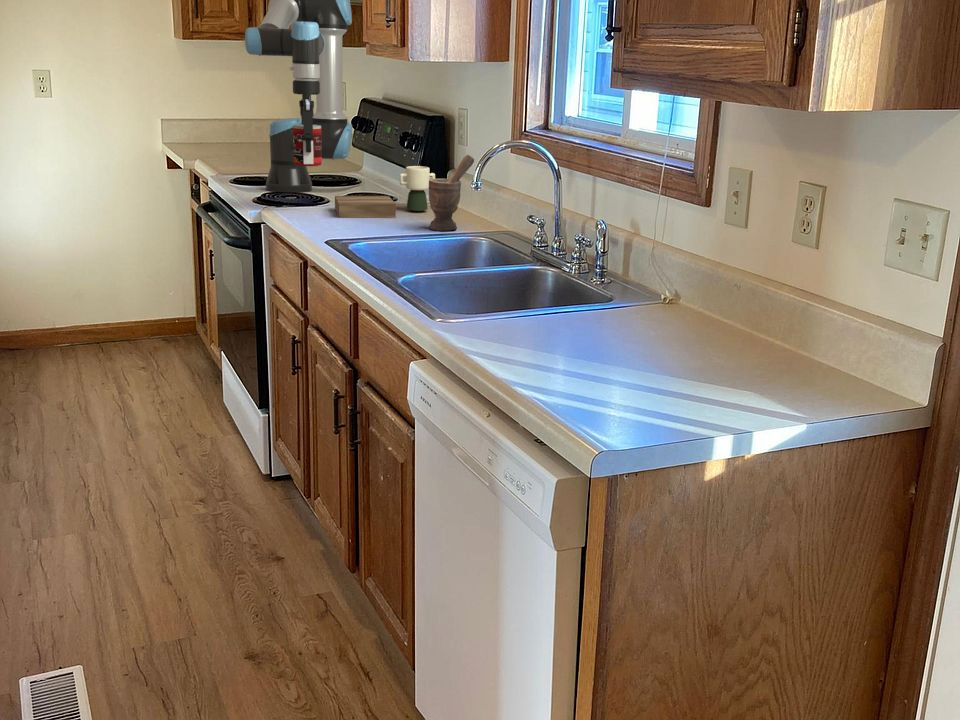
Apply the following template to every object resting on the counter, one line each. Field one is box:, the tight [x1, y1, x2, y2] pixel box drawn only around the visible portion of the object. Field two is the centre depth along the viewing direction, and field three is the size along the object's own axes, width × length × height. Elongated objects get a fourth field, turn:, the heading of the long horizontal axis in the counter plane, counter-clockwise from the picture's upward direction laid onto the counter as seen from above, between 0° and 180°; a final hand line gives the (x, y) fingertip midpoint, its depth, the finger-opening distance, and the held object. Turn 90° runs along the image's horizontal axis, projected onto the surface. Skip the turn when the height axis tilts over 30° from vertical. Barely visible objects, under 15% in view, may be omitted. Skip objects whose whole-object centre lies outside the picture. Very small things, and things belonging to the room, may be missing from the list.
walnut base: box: [334, 195, 397, 219], centre depth 292 cm, size 16×16×4 cm
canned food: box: [293, 124, 323, 167], centre depth 286 cm, size 8×8×11 cm
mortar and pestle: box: [428, 154, 475, 232], centre depth 268 cm, size 12×9×20 cm
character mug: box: [399, 165, 436, 212], centre depth 297 cm, size 11×7×13 cm, turn 110°
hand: (307, 162), depth 288 cm, fingers closed on canned food, 8 cm apart
